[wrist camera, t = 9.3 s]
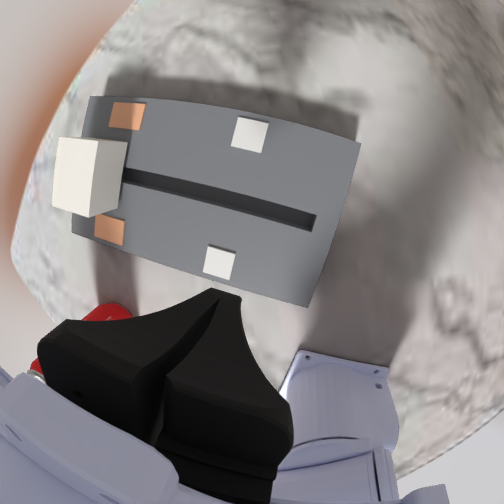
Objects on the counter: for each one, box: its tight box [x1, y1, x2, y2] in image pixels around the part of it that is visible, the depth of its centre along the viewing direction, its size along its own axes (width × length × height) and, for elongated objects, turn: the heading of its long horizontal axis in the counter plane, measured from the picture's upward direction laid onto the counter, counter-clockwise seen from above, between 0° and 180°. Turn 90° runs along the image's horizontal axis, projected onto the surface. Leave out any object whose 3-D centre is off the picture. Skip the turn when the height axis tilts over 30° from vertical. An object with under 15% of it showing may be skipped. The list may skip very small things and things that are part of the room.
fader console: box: [72, 96, 361, 308], centre depth 19 cm, size 21×12×2 cm, turn 76°
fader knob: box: [52, 137, 128, 218], centre depth 17 cm, size 4×5×5 cm
